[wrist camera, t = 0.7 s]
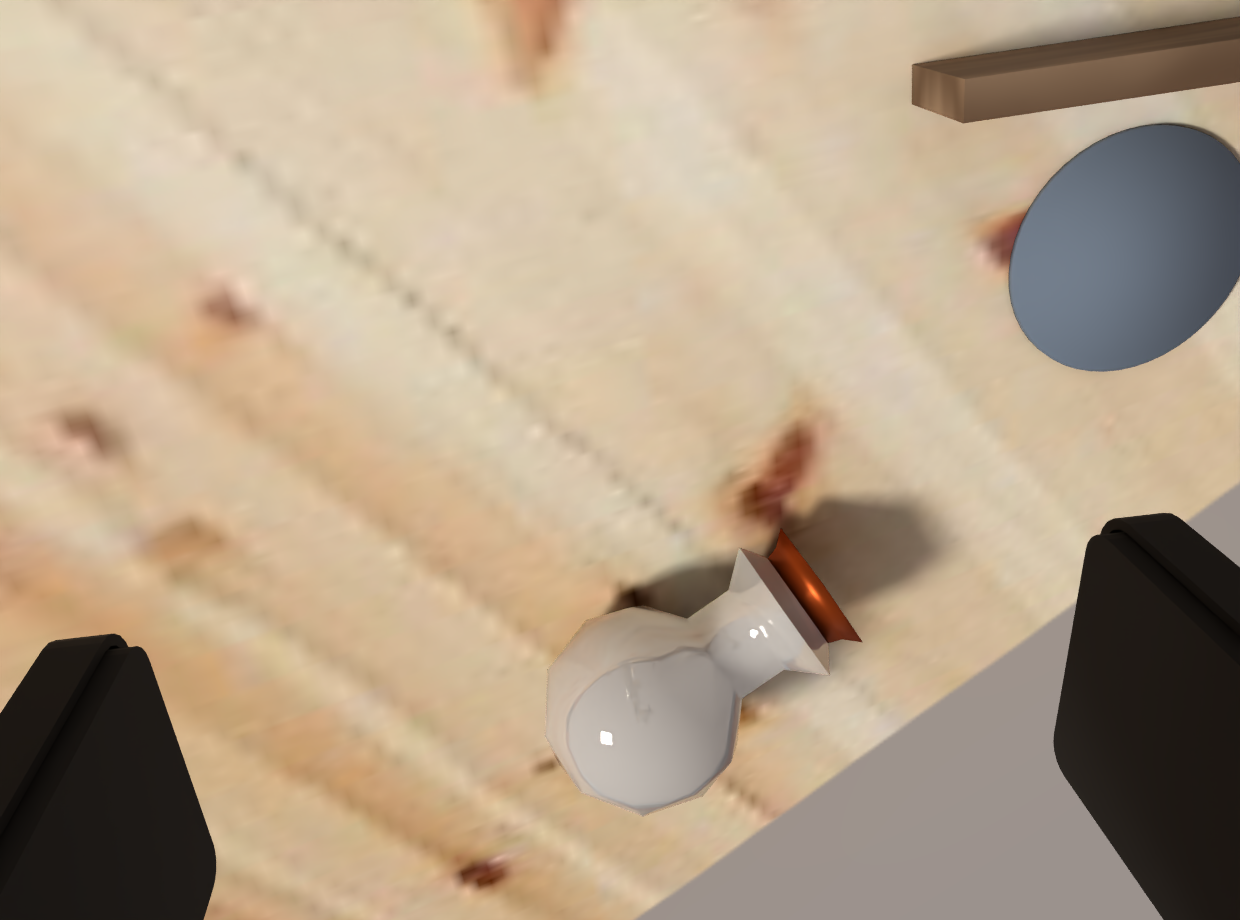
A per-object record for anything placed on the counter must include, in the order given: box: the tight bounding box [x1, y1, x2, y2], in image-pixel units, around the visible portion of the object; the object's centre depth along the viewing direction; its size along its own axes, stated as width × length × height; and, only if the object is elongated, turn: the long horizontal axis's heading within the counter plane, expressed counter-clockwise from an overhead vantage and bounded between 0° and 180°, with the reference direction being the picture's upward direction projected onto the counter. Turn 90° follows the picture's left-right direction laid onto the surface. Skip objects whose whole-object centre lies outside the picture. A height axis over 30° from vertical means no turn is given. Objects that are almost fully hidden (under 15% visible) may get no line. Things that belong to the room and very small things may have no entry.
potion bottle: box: [545, 529, 862, 816], centre depth 47 cm, size 9×10×15 cm
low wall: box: [912, 17, 1240, 123], centre depth 38 cm, size 2×20×5 cm, turn 97°
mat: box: [1009, 124, 1240, 371], centre depth 44 cm, size 11×11×1 cm
